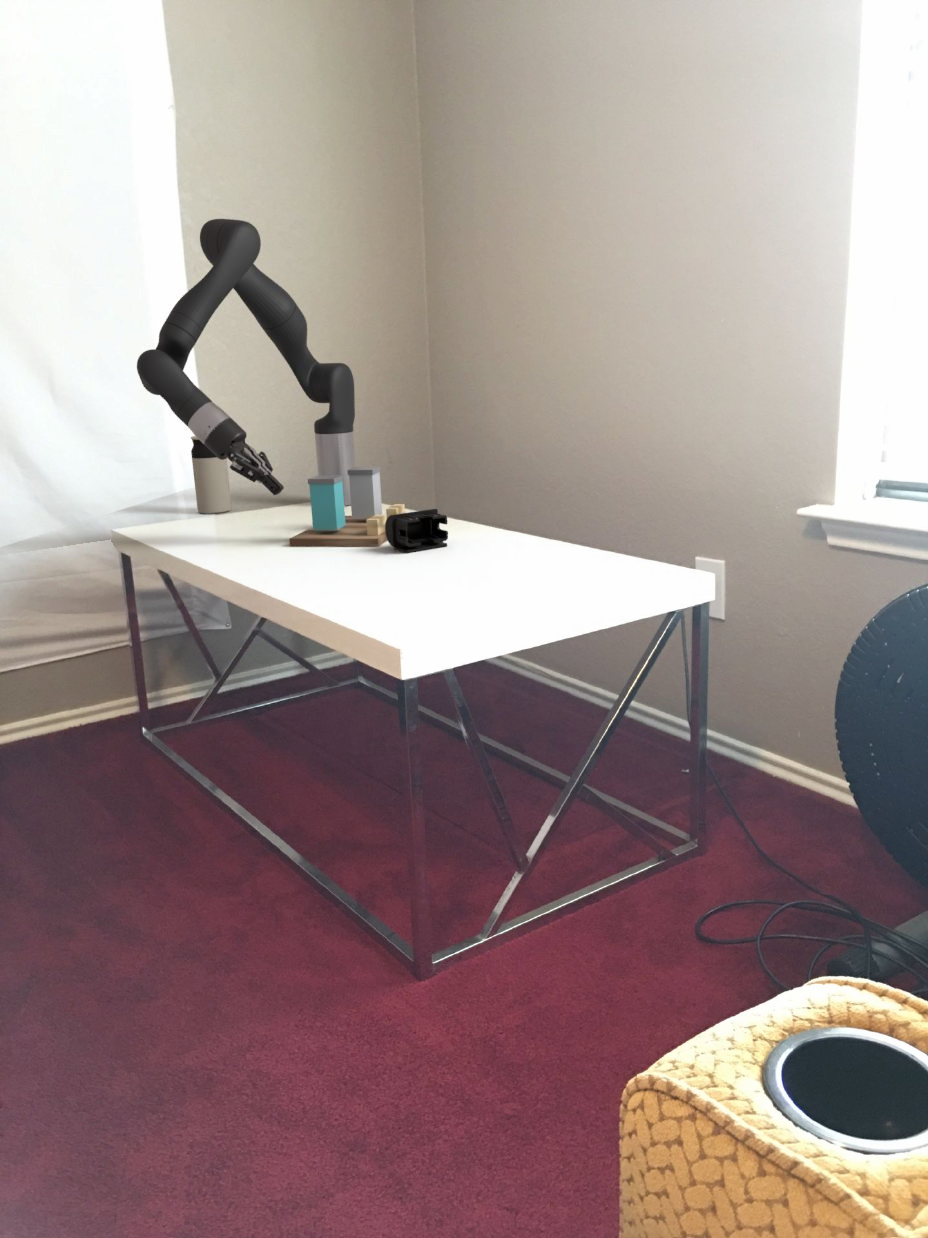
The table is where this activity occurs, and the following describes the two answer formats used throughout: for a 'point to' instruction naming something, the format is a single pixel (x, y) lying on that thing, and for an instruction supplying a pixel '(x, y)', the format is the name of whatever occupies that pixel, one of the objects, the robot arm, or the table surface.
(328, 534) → the key base
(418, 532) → the end cap
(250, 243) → the robot arm
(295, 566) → the table surface
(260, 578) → the table surface
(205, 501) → the travel mug
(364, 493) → the grey key
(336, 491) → the teal key
